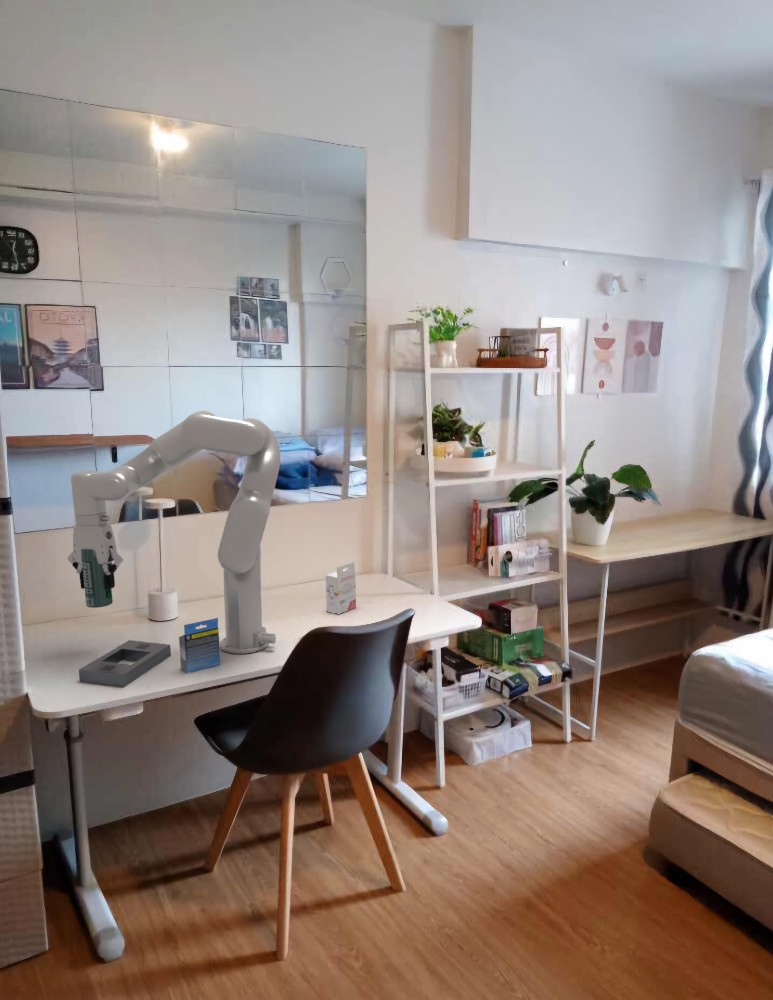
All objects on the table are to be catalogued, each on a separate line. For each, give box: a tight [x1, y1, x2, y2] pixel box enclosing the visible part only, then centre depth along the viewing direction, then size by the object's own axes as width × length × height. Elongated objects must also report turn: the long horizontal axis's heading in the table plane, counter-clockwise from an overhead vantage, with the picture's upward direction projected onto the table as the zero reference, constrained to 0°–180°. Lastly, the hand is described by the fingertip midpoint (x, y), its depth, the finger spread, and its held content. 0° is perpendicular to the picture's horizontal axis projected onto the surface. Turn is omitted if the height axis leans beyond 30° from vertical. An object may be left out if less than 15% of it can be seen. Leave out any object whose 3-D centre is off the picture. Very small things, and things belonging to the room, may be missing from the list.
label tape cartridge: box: [178, 617, 221, 674], centre depth 185 cm, size 9×4×12 cm, turn 127°
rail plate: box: [78, 639, 172, 688], centre depth 185 cm, size 12×20×3 cm, turn 164°
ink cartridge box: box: [325, 561, 357, 615], centre depth 228 cm, size 9×5×15 cm, turn 143°
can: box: [81, 549, 114, 609], centre depth 193 cm, size 6×6×15 cm
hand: (97, 587), depth 194 cm, fingers closed on can, 6 cm apart
